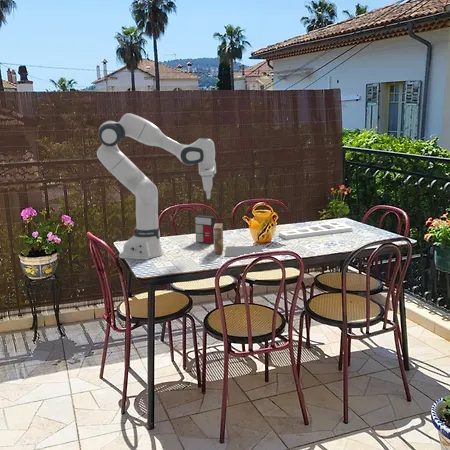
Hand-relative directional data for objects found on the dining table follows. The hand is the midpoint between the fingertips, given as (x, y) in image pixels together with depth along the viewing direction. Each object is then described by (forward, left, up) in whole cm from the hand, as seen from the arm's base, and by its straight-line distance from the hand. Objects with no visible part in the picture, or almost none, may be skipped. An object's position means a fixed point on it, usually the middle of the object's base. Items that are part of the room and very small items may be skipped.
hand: (208, 197), depth 242 cm
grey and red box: (-5, +17, -29) cm, 34 cm away
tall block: (+4, -2, -29) cm, 29 cm away
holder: (+58, +40, -30) cm, 76 cm away
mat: (+18, -2, -29) cm, 34 cm away
